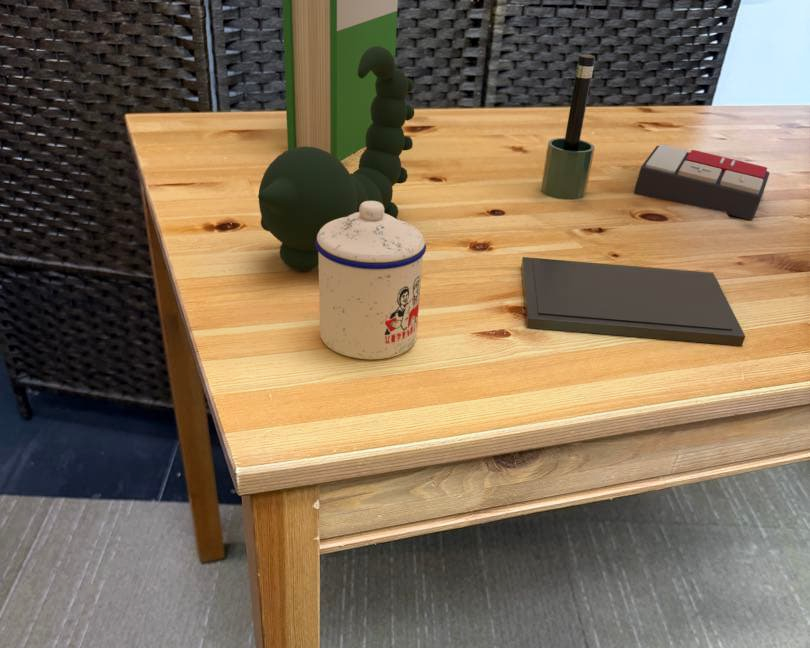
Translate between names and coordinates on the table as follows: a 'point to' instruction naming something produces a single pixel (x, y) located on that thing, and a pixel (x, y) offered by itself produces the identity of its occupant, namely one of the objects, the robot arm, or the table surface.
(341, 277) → the teacup with lid
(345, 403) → the table surface
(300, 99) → the hardback book
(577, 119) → the stylus
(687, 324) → the tablet
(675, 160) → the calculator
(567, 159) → the pen cup
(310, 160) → the toy figurine
